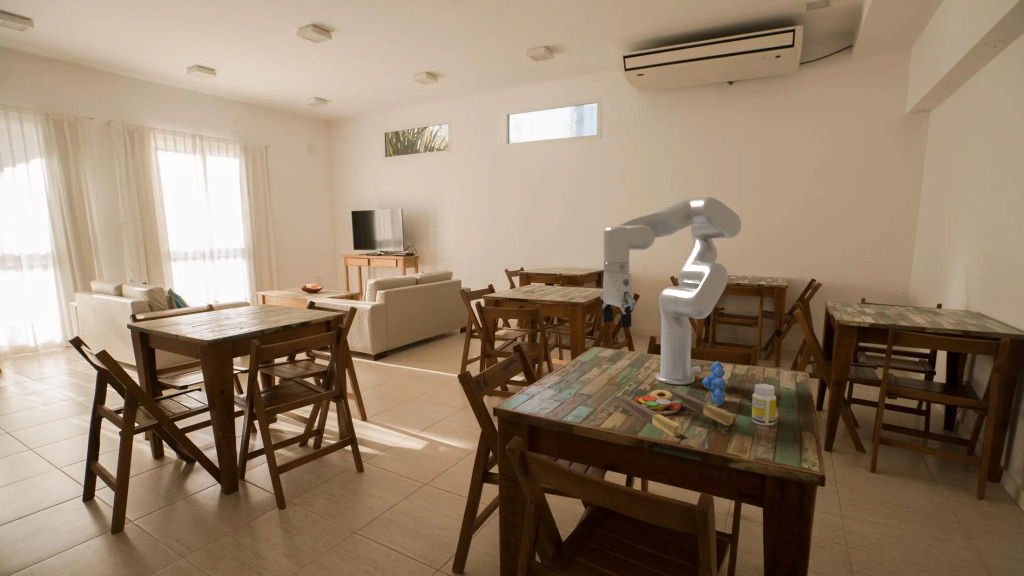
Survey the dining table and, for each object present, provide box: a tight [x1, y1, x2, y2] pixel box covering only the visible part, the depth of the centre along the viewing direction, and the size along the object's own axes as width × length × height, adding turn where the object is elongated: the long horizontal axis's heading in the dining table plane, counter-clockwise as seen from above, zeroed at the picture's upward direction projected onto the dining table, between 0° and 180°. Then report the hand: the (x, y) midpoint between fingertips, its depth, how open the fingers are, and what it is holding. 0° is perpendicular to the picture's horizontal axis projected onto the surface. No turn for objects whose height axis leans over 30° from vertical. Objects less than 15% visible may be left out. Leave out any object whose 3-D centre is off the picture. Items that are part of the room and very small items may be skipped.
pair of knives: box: [616, 387, 734, 437], centre depth 129 cm, size 19×24×2 cm
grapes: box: [701, 360, 727, 406], centre depth 137 cm, size 12×7×12 cm, turn 166°
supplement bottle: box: [751, 383, 777, 426], centre depth 122 cm, size 6×5×10 cm
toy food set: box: [633, 389, 683, 416], centre depth 134 cm, size 13×13×3 cm
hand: (616, 324), depth 143 cm, fingers open, 9 cm apart
